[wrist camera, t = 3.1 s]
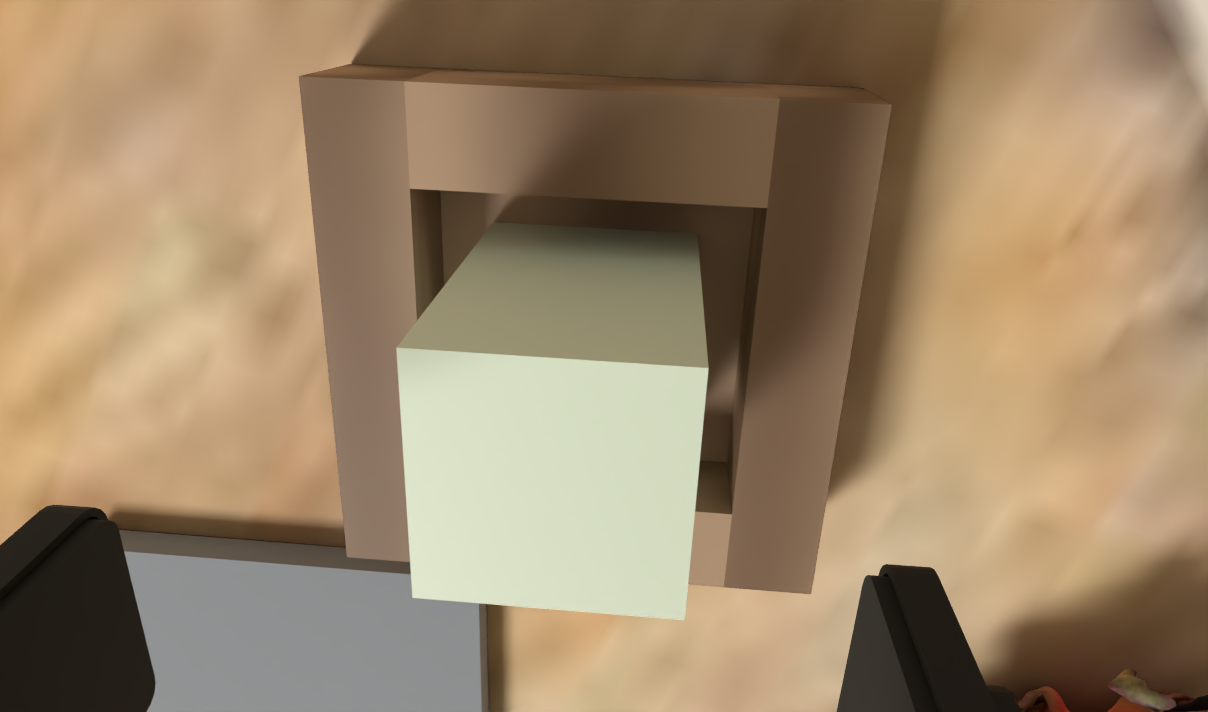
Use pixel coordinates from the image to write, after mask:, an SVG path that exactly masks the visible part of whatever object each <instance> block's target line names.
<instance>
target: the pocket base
mask: <svg viewBox="0 0 1208 712" xmlns="http://www.w3.org/2000/svg"><path fill="white" fill-rule="evenodd" d="M299 83H300V93H301V103H302V113H303V123H304V133H305V143H306V153H307V163H308V173H309V183H310V193H311V203H312V213H313V223H314V233H315V243H316V253H317V263H318V273H319V283H320V293H321V303H322V313H323V323H324V333H325V343H326V353H327V363H328V373H329V383H330V393H331V403H332V413H333V423H334V433H335V443H336V453H337V463H338V473H339V483H340V493H341V503H342V513H343V523H344V533H345V543H346V553H347V557H352V558H364V559H377V560H389V561H402V562H410V552H409V537H408V521H407V506H406V490H405V475H404V459H403V444H402V428H401V413H400V397H399V382H398V366H397V351H396V347H397V346H398V345H399V344H400V342H401V341H402V340H403V338H404V337H405V336H406V334H407V333H408V332H409V331H410V329H411V328H412V327H413V325H414V324H415V323H416V322H417V320H418V319H419V318H420V316H421V315H422V314H423V313H424V311H425V310H426V309H427V307H428V306H429V305H430V303H431V302H432V301H433V300H434V298H435V297H436V296H437V294H438V293H439V292H440V291H441V289H442V288H443V287H444V285H445V284H446V283H447V282H448V280H449V279H450V278H451V276H452V275H453V274H454V273H455V271H456V270H457V269H458V267H459V266H460V265H461V263H462V262H463V261H464V260H465V258H466V257H467V256H468V254H469V253H470V252H471V251H472V249H473V248H474V247H475V245H476V244H477V243H478V242H479V240H480V239H481V238H482V236H483V235H484V234H485V232H486V231H487V230H488V229H489V227H490V226H491V225H492V223H493V222H501V223H519V224H537V225H554V226H572V227H589V228H607V229H625V230H642V231H660V232H677V233H695V234H697V236H698V248H699V260H700V272H701V284H702V296H703V308H704V320H705V332H706V344H707V356H708V367H709V369H708V379H707V390H706V401H705V411H704V422H703V432H702V443H701V453H700V464H699V475H698V485H697V496H696V506H695V517H694V528H693V538H692V549H691V559H690V570H689V581H688V584H690V585H702V586H715V587H728V588H740V589H753V590H765V591H778V592H790V593H803V594H811V590H812V584H813V578H814V572H815V566H816V560H817V554H818V548H819V542H820V536H821V530H822V524H823V518H824V512H825V506H826V500H827V494H828V488H829V482H830V476H831V470H832V464H833V458H834V452H835V446H836V440H837V434H838V428H839V422H840V416H841V410H842V403H843V397H844V391H845V385H846V379H847V373H848V367H849V361H850V355H851V349H852V343H853V337H854V331H855V325H856V319H857V313H858V307H859V301H860V295H861V289H862V283H863V277H864V271H865V265H866V259H867V253H868V247H869V241H870V235H871V229H872V223H873V216H874V210H875V204H876V198H877V192H878V186H879V180H880V174H881V168H882V162H883V156H884V150H885V144H886V138H887V132H888V126H889V120H890V114H891V108H892V104H890V103H888V102H886V101H884V100H883V99H881V98H879V97H877V96H875V95H873V94H872V93H870V92H868V91H866V90H864V89H863V88H848V87H827V86H805V85H784V84H762V83H741V82H720V81H698V80H677V79H656V78H634V77H613V76H592V75H570V74H549V73H527V72H506V71H485V70H463V69H442V68H421V67H399V66H378V65H357V64H348V65H344V66H340V67H336V68H332V69H328V70H323V71H319V72H315V73H311V74H307V75H303V76H299Z"/></svg>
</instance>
